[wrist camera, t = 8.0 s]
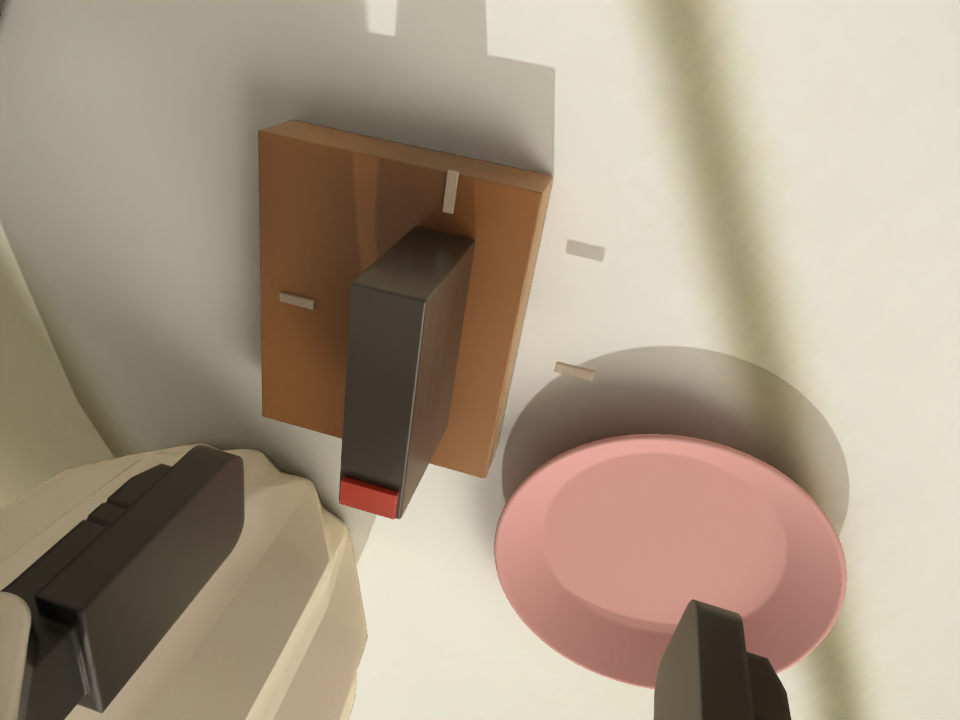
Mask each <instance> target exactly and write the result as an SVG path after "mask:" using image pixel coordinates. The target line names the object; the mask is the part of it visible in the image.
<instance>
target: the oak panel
mask: <svg viewBox="0 0 960 720" xmlns="http://www.w3.org/2000/svg"><path fill="white" fill-rule="evenodd" d="M258 145H259V213H260V280H261V348H262V415H263V416H264V417H267V418H271V419H274V420H278V421H282V422H285V423H289V424H292V425H296V426H299V427H303V428H306V429H310V430H314V431H317V432H321V433H324V434H328V435H331V436H335V437H338V438H342V436H343V418H344V400H345V381H346V363H347V345H348V327H349V309H350V291H351V283H352V281H354V280H355V279H356V278H357V277H358V276H359V275H360V274H361V273H363V272H364V271H365V270H366V269H367V268H368V267H369V266H370V265H372V264H373V263H374V262H375V261H376V260H377V259H378V258H380V257H381V256H382V255H383V254H384V253H385V252H386V251H387V250H389V249H390V248H391V247H392V246H393V245H394V244H395V243H396V242H398V241H399V240H400V239H401V238H402V237H403V236H404V235H406V234H407V233H408V232H409V231H410V230H411V229H412V228H413V227H415V226H418V227H422V228H426V229H431V230H435V231H439V232H444V233H448V234H453V235H457V236H461V237H466V238H470V239H474V240H475V247H474V254H473V260H472V267H471V273H470V280H469V287H468V293H467V300H466V306H465V313H464V319H463V326H462V333H461V339H460V346H459V352H458V359H457V365H456V372H455V379H454V385H453V392H452V398H451V405H450V411H449V418H448V425H447V429H446V431H445V433H444V435H443V437H442V439H441V441H440V443H439V445H438V447H437V449H436V451H435V453H434V455H433V457H432V459H431V460H430V462H429V463H431V464H434V465H438V466H441V467H445V468H448V469H452V470H456V471H459V472H463V473H466V474H470V475H473V476H477V477H480V478H486V475H487V473H488V470H489V468H490V465H491V462H492V460H493V457H494V454H495V452H496V449H497V446H498V443H499V438H500V433H501V428H502V423H503V419H504V414H505V409H506V404H507V399H508V395H509V390H510V385H511V380H512V375H513V371H514V366H515V361H516V356H517V351H518V347H519V342H520V337H521V332H522V327H523V322H524V318H525V313H526V308H527V303H528V298H529V294H530V289H531V284H532V279H533V274H534V270H535V265H536V260H537V255H538V250H539V246H540V241H541V236H542V231H543V226H544V222H545V217H546V212H547V207H548V202H549V198H550V193H551V188H552V183H553V176H550V175H546V174H541V173H536V172H532V171H527V170H522V169H518V168H513V167H509V166H504V165H499V164H495V163H490V162H485V161H481V160H476V159H471V158H467V157H462V156H457V155H453V154H448V153H444V152H439V151H434V150H430V149H425V148H420V147H416V146H411V145H406V144H402V143H397V142H393V141H388V140H383V139H379V138H374V137H369V136H365V135H360V134H355V133H351V132H346V131H341V130H337V129H332V128H328V127H323V126H318V125H314V124H309V123H304V122H300V121H295V120H292V121H289V122H285V123H282V124H279V125H276V126H272V127H269V128H266V129H263V130H259V132H258ZM555 372H558V373H562V374H566V375H570V376H574V377H578V378H582V379H586V380H590V381H593V378H594V374H595V371H593V370H589V369H585V368H581V367H577V366H573V365H569V364H565V363H561V362H557V363H556V367H555Z"/></svg>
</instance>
